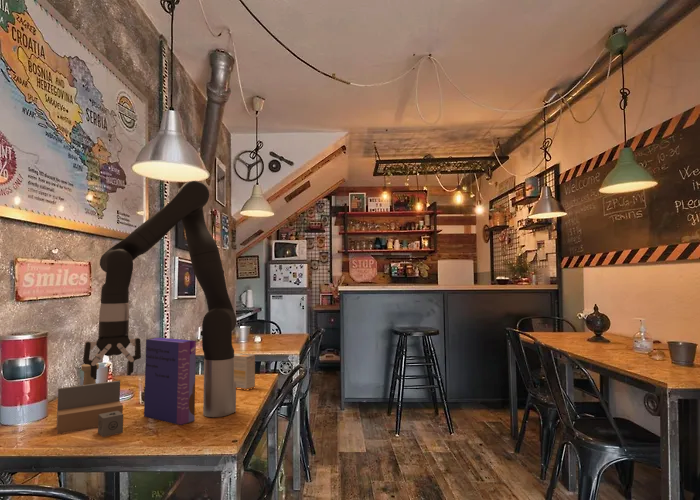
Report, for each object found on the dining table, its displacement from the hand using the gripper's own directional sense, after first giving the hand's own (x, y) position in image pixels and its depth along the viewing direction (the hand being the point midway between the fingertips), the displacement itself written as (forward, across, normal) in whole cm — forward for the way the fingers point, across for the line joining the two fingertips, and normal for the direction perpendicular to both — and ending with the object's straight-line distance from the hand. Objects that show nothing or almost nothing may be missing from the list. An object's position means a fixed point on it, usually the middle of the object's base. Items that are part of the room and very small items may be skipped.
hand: (111, 376), depth 122 cm
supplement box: (+15, -49, -24) cm, 57 cm away
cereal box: (+15, -16, -2) cm, 22 cm away
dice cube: (+15, 0, +1) cm, 15 cm away
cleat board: (+15, +4, -10) cm, 19 cm away
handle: (+15, +3, -26) cm, 30 cm away
